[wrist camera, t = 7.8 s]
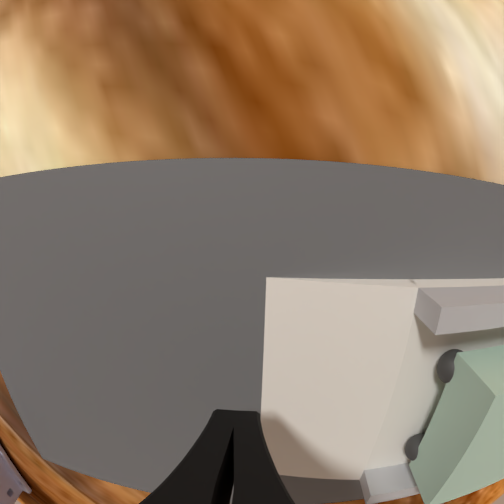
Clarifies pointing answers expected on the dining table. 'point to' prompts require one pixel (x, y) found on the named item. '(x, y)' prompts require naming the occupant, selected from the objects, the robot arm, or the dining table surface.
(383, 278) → the dock
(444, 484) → the cart
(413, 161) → the dining table surface
